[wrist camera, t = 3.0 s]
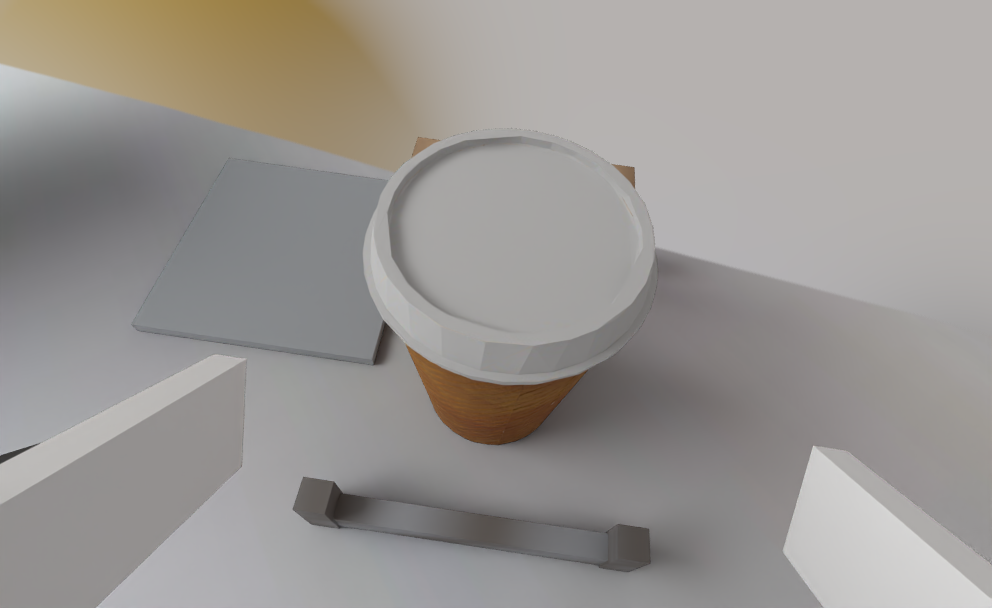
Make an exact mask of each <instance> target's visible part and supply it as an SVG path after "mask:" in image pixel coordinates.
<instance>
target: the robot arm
mask: <svg viewBox="0 0 992 608" xmlns="http://www.w3.org/2000/svg"><path fill="white" fill-rule="evenodd" d="M246 362H247V359H244V358H237V357H231V356H224V355H218V354H213V355H211V356H209V357H207V358H206V359H204V360H202V361H200V362H198V363H196V364H194V365H192V366H190V367H188V368H186V369H184V370H182V371H180V372H178V373H176V374H174V375H172V376H171V377H169V378H167V379H165V380H163V381H161V382H159V383H157V384H155V385H153V386H151V387H149V388H147V389H145V390H143V391H141V392H139V393H137V394H136V395H134V396H132V397H130V398H128V399H126V400H124V401H122V402H120V403H118V404H116V405H114V406H112V407H110V408H108V409H106V410H104V411H102V412H101V413H99V414H97V415H95V416H93V417H91V418H89V419H87V420H85V421H83V422H81V423H79V424H77V425H75V426H73V427H71V428H69V429H67V430H66V431H64V432H62V433H60V434H58V435H56V436H54V437H52V438H50V439H48V440H46V441H44V442H42V443H39V444H36V445H33V446H30V447H26V448H23V449H20V450H17V451H13V452H10V453H7V454H4V455H1V456H0V608H96V607H97V606H98V605H99V604H100V603H101V602H102V601H103V600H104V599H105V598H106V597H107V596H108V595H109V594H110V593H111V592H112V591H113V590H114V589H115V588H116V587H117V586H118V585H119V584H120V583H122V582H123V581H124V580H125V579H126V578H127V577H128V576H129V575H130V574H131V573H132V572H133V571H134V570H135V569H136V568H137V567H138V566H139V565H140V564H141V563H142V562H143V561H144V560H145V559H146V558H147V557H148V556H150V555H151V554H152V553H153V552H154V551H155V550H156V549H157V548H158V547H159V546H160V545H161V544H162V543H163V542H164V541H165V540H166V539H167V538H168V537H169V536H170V535H171V534H172V533H173V532H174V531H175V530H176V529H177V528H179V527H180V526H181V525H182V524H183V523H184V522H185V521H186V520H187V519H188V518H189V517H190V516H191V515H192V514H193V513H194V512H195V511H196V510H197V509H198V508H199V507H200V506H201V505H202V504H203V503H204V502H205V501H207V500H208V499H209V498H210V497H211V496H212V495H213V494H214V493H215V492H216V491H217V490H218V489H219V488H220V487H221V486H222V485H223V484H224V483H225V482H226V481H227V480H228V479H229V478H230V477H231V476H232V475H233V474H235V473H236V472H237V471H238V470H239V469H240V468H241V467H242V452H243V429H244V407H245V385H246ZM783 553H784V554H785V556H786V557H787V558H788V560H789V561H790V562H791V564H792V565H793V567H794V568H795V569H796V571H797V572H798V573H799V575H800V576H801V577H802V579H803V580H804V582H805V583H806V584H807V586H808V587H809V588H810V590H811V591H812V593H813V594H814V595H815V597H816V598H817V599H818V601H819V602H820V604H821V605H822V606H823V608H992V565H991V564H990V563H989V562H988V561H986V560H985V559H984V558H982V557H981V556H980V555H979V554H977V553H976V552H975V551H974V550H972V549H971V548H970V547H969V546H967V545H966V544H965V543H963V542H962V541H961V540H960V539H958V538H957V537H956V536H955V535H953V534H952V533H951V532H950V531H948V530H947V529H946V528H944V527H943V526H942V525H941V524H939V523H938V522H937V521H936V520H934V519H933V518H932V517H930V516H929V515H928V514H927V513H925V512H924V511H923V510H922V509H920V508H919V507H918V506H917V505H915V504H914V503H913V502H911V501H910V500H909V499H908V498H906V497H905V496H904V495H903V494H901V493H900V492H899V491H898V490H896V489H895V488H894V487H892V486H891V485H890V484H889V483H887V482H886V481H885V480H884V479H882V478H881V477H880V476H878V475H877V474H876V473H875V472H873V471H872V470H871V469H870V468H868V467H867V466H866V465H865V464H863V463H862V462H861V461H859V460H858V459H857V458H856V457H854V456H853V455H852V454H851V453H849V452H848V451H845V450H839V449H832V448H826V447H819V446H813V448H812V452H811V455H810V459H809V462H808V466H807V469H806V472H805V476H804V479H803V483H802V486H801V490H800V493H799V496H798V500H797V503H796V507H795V510H794V514H793V517H792V521H791V524H790V527H789V531H788V534H787V538H786V541H785V545H784V548H783Z"/></svg>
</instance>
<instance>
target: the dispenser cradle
mask: <svg viewBox="0 0 992 608" xmlns="http://www.w3.org/2000/svg"><path fill="white" fill-rule="evenodd" d="M439 141H441V140H435V139H428V138H421V137H418V139H417V141H416V145H415V148H414V151H413V154H412V157H414V156H415V155H417V154H418V153H420V152H421V151H423V150H424V149H426V148H427V147H429V146H430V145H432V144H433V143H436V142H439ZM612 165H613V164H612ZM613 166H614V167H615V168H616V169H617V170H618V171H619V172H620V173H621V174H622V175H623V176H624V177H625V178H626V179H627V180H628V181H629V182H630V183H631V184H632V186H633V187H634V189H635V172H634V167H628V166H621V165H613ZM293 510H294V511H295V512H297V513H298V514H299V515H300V516H301V517H303V518H304V519H305V520H306V521H308V522H309V523H310V524H313V525H319V526H326V527H332V528H340V526H343V527H350V528H356V529H363V530H370V531H376V532H383V533H390V534H396V535H403V536H409V537H416V538H423V539H429V540H436V541H443V542H449V543H456V544H462V545H469V546H476V547H482V548H489V549H496V550H502V551H509V552H515V553H522V554H529V555H535V556H542V557H549V558H555V559H562V560H568V561H575V562H582V563H588V564H595V565H599V568H604V569H611V570H617V571H624V572H629V571H632V570H634V569H637V568H640V567H642V566H645V565H647V564H650V538H649V529H647V528H641V527H634V526H627V525H621V524H617V525H616V526H615V527H613V528H612V529H610V530H609V531H608V532H606V533H601V532H595V531H588V530H581V529H575V528H568V527H561V526H555V525H548V524H541V523H535V522H528V521H521V520H515V519H508V518H501V517H495V516H488V515H481V514H475V513H468V512H461V511H455V510H448V509H441V508H435V507H428V506H421V505H415V504H408V503H401V502H395V501H388V500H381V499H375V498H368V497H361V496H355V495H348V494H343V493H342V491H341V490H340V489H339V488H338V486H337V485H336V484H335V482H334V481H327V480H320V479H314V478H307V477H303V479H302V482H301V485H300V488H299V492H298V495H297V498H296V501H295V504H294V507H293Z"/></svg>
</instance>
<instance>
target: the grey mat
mask: <svg viewBox="0 0 992 608" xmlns="http://www.w3.org/2000/svg"><path fill="white" fill-rule="evenodd" d="M388 182H389V180H382V179H375V178H367V177H360V176H353V175H346V174H339V173H332V172H325V171H318V170H311V169H304V168H297V167H290V166H283V165H275V164H268V163H261V162H254V161H247V160H240V159H233V158H229V159H228V161H227V162H226V164H225V166H224V167H223V169H222V171H221V173H220V174H219V176H218V178H217V179H216V181H215V183H214V184H213V186H212V188H211V190H210V191H209V193H208V195H207V196H206V198H205V200H204V201H203V203H202V205H201V207H200V208H199V210H198V212H197V213H196V215H195V217H194V218H193V220H192V222H191V224H190V225H189V227H188V229H187V230H186V232H185V234H184V235H183V237H182V239H181V241H180V242H179V244H178V246H177V247H176V249H175V251H174V252H173V254H172V256H171V258H170V259H169V261H168V263H167V264H166V266H165V268H164V269H163V271H162V273H161V275H160V276H159V278H158V280H157V281H156V283H155V285H154V286H153V288H152V290H151V292H150V293H149V295H148V297H147V298H146V300H145V302H144V303H143V305H142V307H141V309H140V310H139V312H138V314H137V315H136V317H135V319H134V320H133V322H132V324H131V325H132V326H133V327H134V328H135V329H136V330H138V331H144V332H151V333H158V334H165V335H172V336H179V337H185V338H192V339H199V340H206V341H213V342H220V343H226V344H233V345H240V346H247V347H254V348H261V349H267V350H274V351H281V352H288V353H295V354H302V355H308V356H315V357H322V358H329V359H336V360H343V361H349V362H356V363H363V364H370V365H374V361H375V358H376V354H377V351H378V347H379V344H380V340H381V337H382V333H383V329H384V326H385V321H384V320H383V318H382V316H381V314H380V312H379V311H378V309H377V307H376V305H375V303H374V301H373V299H372V297H371V295H370V292H369V288H368V285H367V282H366V279H365V275H364V264H363V248H364V241H365V234H366V231H367V229H368V226H369V224H370V221H371V219H372V216H373V213H374V212H375V210H376V209H377V206H378V202H379V198H380V195H381V193H382V191H383V190H384V188H385V186H386V185H387V183H388Z"/></svg>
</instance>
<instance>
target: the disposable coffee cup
mask: <svg viewBox="0 0 992 608" xmlns="http://www.w3.org/2000/svg"><path fill="white" fill-rule="evenodd" d="M363 264H364V275H365V279H366V282H367V285H368V288H369V292H370V295H371V297H372V299H373V301H374V303H375V305H376V307H377V309H378V311H379V312H380V314H381V316H382V318H383V320H384V321H385V322H386V323H387V324H388V325H389V326H390V327H391V328H392V330H393V331H394V332H395V333H396V334H397V335H398V336H399V337H400V338H401V339H402V340H403V341H404V342H405V344H406V346H407V348H408V350H409V353H410V355H411V357H412V359H413V361H414V364H415V366H416V368H417V371H418V373H419V375H420V377H421V379H422V382H423V384H424V386H425V388H426V390H427V393H428V395H429V397H430V399H431V402H432V404H433V407H434V409H435V411H436V413H437V414H438V416H439V417H440V419H441V420H442V422H443V423H445V424H446V425H447V426H448V427H449V428H450V429H451V430H452V431H453V432H455V433H457V434H458V435H460V436H462V437H464V438H465V439H468V440H470V441H473V442H477V443H482V444H491V445H500V444H505V443H509V442H514V441H517V440H519V439H521V438H524V437H526V436H527V435H529V434H530V433H532V432H533V431H534V430H536V429H537V428H538V427H539V426H540V425H541V423H542V422H543V421H544V420H545V419H546V417H547V416H548V415H549V414H550V413H551V412H552V411H553V409H554V408H555V407H556V406H557V405H558V404H559V403H560V401H561V400H562V399H563V398H564V397H565V396H566V395H567V394H568V392H569V391H570V390H571V389H572V388H573V387H574V385H575V384H576V383H577V382H578V381H579V380H580V378H581V377H582V376H583V375H584V374H585V373H586V372H587V370H588V369H590V368H592V367H593V366H595V365H597V364H599V363H601V362H602V361H604V360H606V359H608V358H610V357H612V356H613V355H615V354H616V353H617V352H618V351H619V350H620V349H621V348H622V347H623V346H624V345H625V344H626V343H627V342H628V341H629V340H630V339H631V338H632V336H633V335H634V334H635V333H636V332H637V331H638V329H639V328H640V327H641V325H642V324H643V322H644V320H645V318H646V316H647V314H648V312H649V311H650V309H651V306H652V302H653V299H654V295H655V291H656V288H657V277H658V267H657V257H656V253H655V239H654V231H653V226H652V222H651V220H650V217H649V214H648V211H647V208H646V205H645V203H644V202H643V200H642V199H641V198H640V196H639V195H638V193H637V192H636V190H635V189H634V187H633V186H632V184H631V183H630V182H629V181H628V180H627V179H626V178H625V177H624V176H623V175H622V174H621V173H620V172H619V171H618V170H617V169H616V168H615V167H614V166H613V165H612V164H610V163H609V162H607V161H605V160H604V159H603V158H601V157H600V156H598V155H597V154H595V153H594V152H592V151H590V150H588V149H586V148H584V147H582V146H580V145H578V144H576V143H574V142H572V141H569V140H566V139H563V138H560V137H557V136H554V135H549V134H545V133H541V132H537V131H531V130H521V129H512V128H511V129H509V128H507V129H486V130H476V131H471V132H467V133H463V134H458V135H454V136H452V137H449V138H446V139H444V140H441V141H439V142H436V143H433V144H432V145H430V146H429V147H427V148H426V149H424V150H423V151H421V152H420V153H418V154H417V155H415V156H414V157H412V158H411V159H409V160H408V161H406V162H405V163H404V164H403V165H402V166H401V167H400V168H399V169H398V170H397V171H396V172H395V174H394V175H393V176H392V177H391V178H390V180H389V182H388V183H387V185H386V186H385V188H384V190H383V191H382V193H381V195H380V198H379V202H378V206H377V209H376V210H375V212H374V213H373V216H372V219H371V221H370V224H369V226H368V229H367V231H366V234H365V241H364V248H363Z"/></svg>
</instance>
